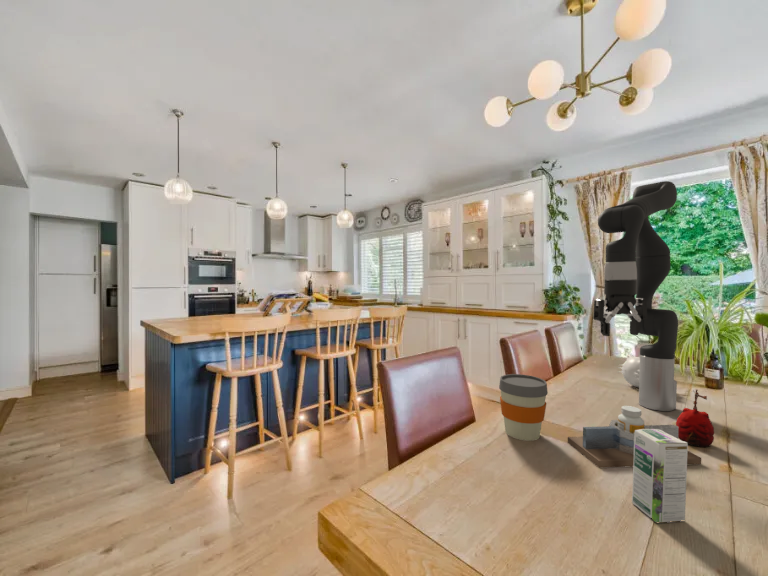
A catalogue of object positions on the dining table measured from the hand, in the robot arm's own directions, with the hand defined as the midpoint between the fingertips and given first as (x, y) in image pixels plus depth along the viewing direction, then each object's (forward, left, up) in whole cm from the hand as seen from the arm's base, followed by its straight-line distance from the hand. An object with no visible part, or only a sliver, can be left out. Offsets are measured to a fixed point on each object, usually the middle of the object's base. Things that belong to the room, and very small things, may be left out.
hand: (619, 335), depth 97 cm
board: (+6, +12, -27) cm, 31 cm away
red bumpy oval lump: (-15, +8, -28) cm, 32 cm away
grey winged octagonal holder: (+6, +12, -26) cm, 29 cm away
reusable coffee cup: (+28, 0, -28) cm, 40 cm away
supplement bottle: (+6, +12, -26) cm, 29 cm away
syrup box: (+18, +33, -28) cm, 47 cm away
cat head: (-39, -37, -28) cm, 60 cm away
